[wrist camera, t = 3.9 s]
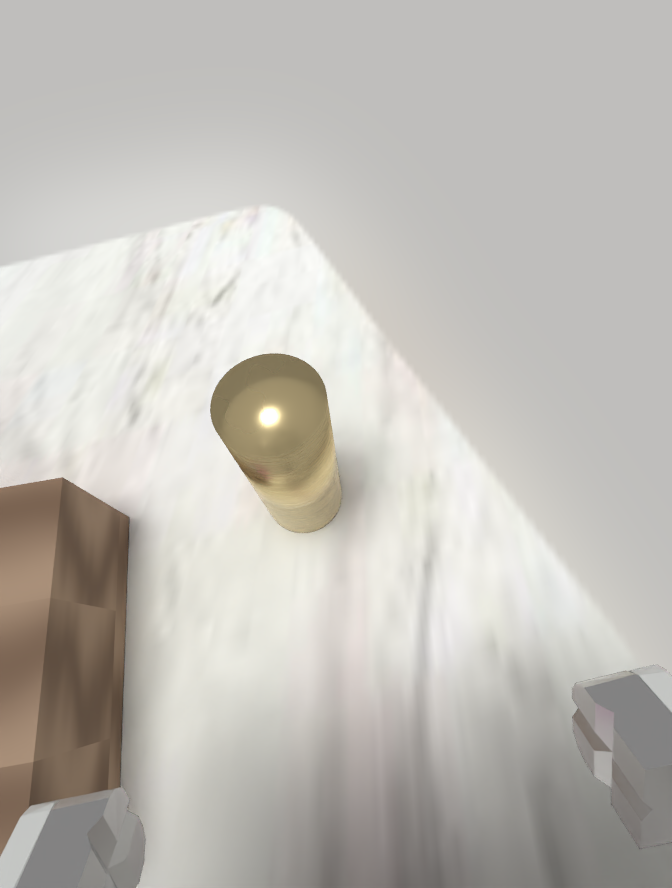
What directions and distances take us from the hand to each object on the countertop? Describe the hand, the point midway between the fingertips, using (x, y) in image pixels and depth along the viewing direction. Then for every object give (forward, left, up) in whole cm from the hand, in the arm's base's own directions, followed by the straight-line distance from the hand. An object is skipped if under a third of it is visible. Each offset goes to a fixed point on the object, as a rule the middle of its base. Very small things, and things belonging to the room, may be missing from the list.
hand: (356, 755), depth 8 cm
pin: (+10, +1, -14) cm, 17 cm away
